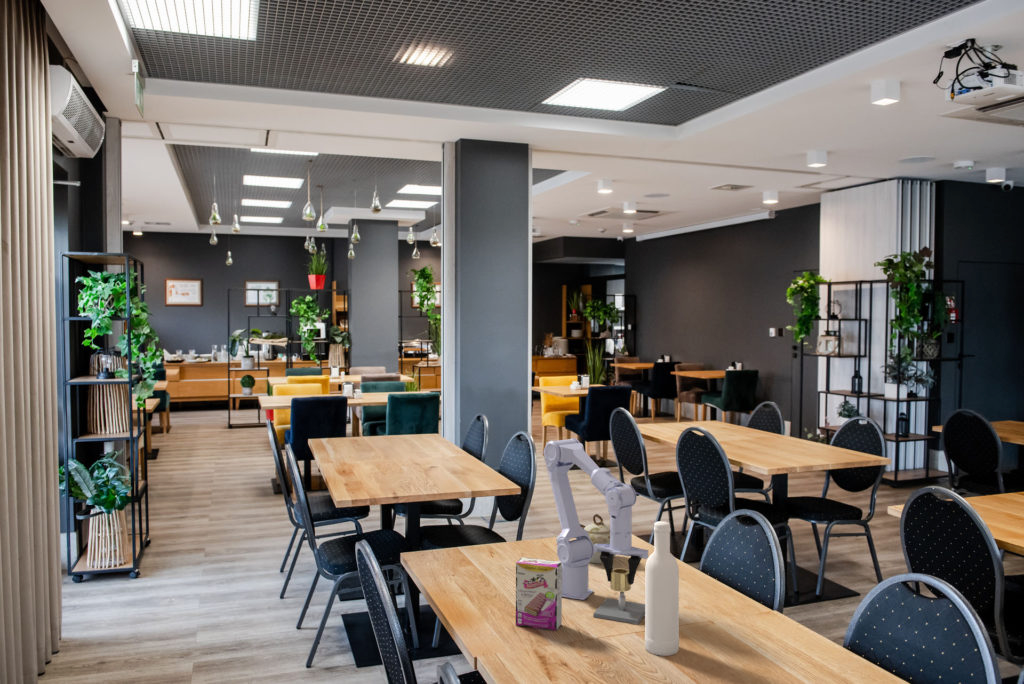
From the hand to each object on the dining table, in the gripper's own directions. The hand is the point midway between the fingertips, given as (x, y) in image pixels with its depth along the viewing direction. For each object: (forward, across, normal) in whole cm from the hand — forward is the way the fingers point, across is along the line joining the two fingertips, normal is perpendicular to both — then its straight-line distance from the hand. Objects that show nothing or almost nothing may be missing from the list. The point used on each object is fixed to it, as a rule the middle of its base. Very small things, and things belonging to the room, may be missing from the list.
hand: (620, 581), depth 199 cm
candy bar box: (+9, -17, -17) cm, 25 cm away
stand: (+8, 0, 0) cm, 8 cm away
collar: (+2, 0, 0) cm, 2 cm away
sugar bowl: (+9, -20, +41) cm, 47 cm away
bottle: (+9, +15, -17) cm, 25 cm away
